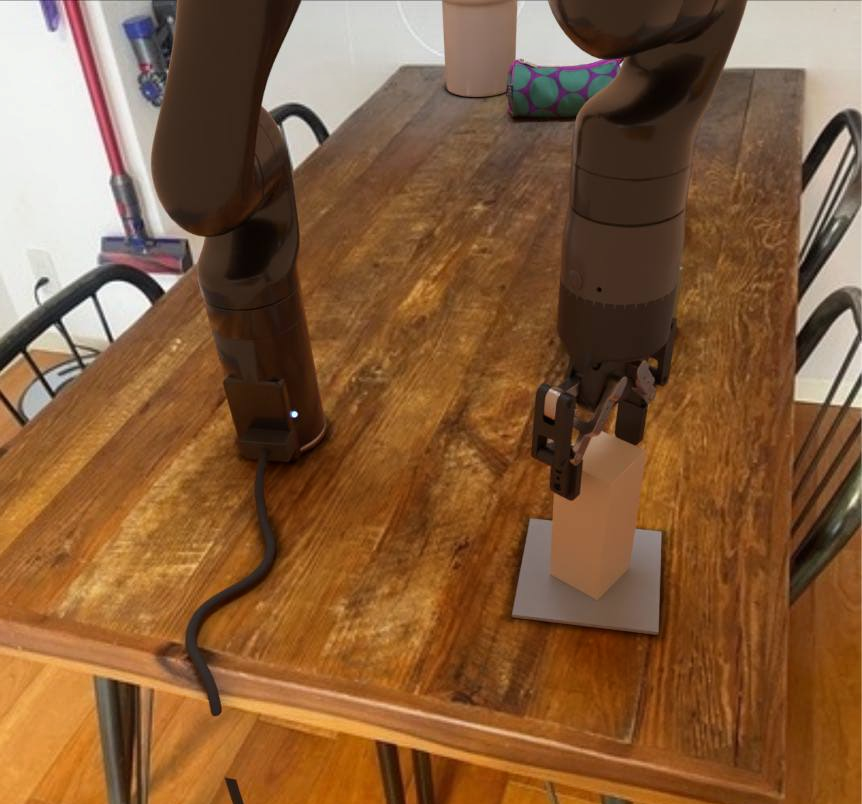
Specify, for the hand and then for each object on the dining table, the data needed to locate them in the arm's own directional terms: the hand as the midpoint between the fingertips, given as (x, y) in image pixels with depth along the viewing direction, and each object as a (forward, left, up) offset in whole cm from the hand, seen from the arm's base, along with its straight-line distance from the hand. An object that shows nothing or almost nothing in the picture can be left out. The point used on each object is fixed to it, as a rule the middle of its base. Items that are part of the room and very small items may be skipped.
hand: (597, 466), depth 66 cm
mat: (0, 0, -12) cm, 12 cm away
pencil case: (+116, +14, -13) cm, 118 cm away
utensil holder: (+132, +32, -13) cm, 137 cm away
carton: (0, 0, -6) cm, 6 cm away
